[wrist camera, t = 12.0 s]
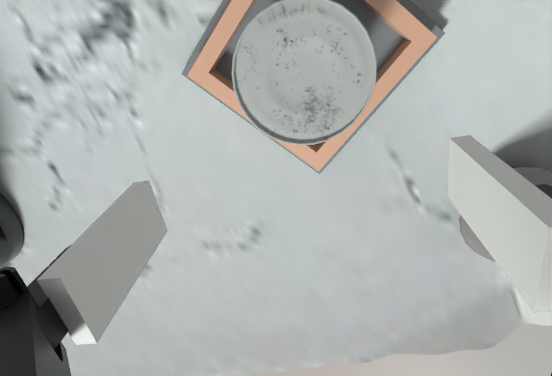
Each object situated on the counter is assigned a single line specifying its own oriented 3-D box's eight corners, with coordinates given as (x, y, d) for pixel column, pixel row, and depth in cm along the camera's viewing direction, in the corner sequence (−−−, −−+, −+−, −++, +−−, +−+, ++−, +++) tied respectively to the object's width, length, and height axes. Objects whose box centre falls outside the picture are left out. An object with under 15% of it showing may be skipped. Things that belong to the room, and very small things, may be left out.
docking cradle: (184, 72, 37) (173, 78, 34) (288, -107, 30) (285, -120, 27) (319, 170, 41) (320, 183, 38) (441, 32, 33) (454, 34, 30)
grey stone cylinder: (247, 90, 36) (219, 125, 26) (269, -14, 32) (248, -25, 21) (336, 115, 37) (347, 160, 26) (370, 15, 32) (401, 19, 22)
